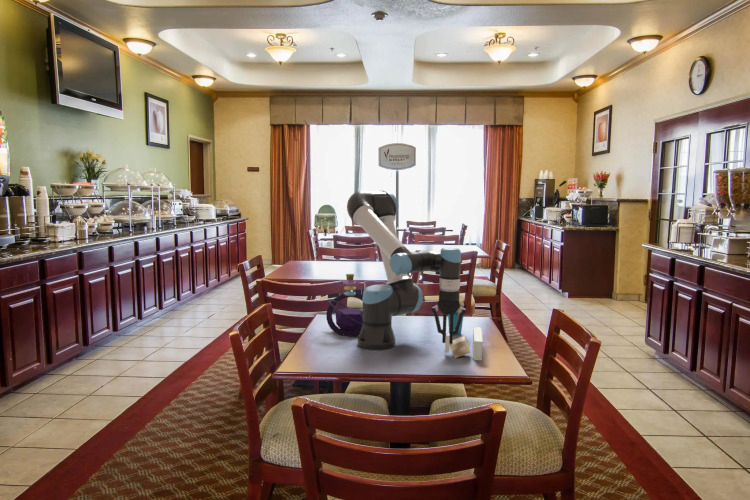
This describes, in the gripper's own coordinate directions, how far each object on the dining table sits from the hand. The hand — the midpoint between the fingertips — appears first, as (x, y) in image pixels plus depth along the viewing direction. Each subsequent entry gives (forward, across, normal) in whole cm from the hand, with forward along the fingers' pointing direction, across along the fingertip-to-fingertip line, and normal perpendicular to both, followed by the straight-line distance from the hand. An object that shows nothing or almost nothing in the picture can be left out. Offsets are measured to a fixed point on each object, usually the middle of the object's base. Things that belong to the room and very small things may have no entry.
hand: (447, 351), depth 191 cm
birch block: (0, +6, 0) cm, 6 cm away
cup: (+2, +2, +31) cm, 31 cm away
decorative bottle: (+2, -43, +24) cm, 50 cm away
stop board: (+2, +11, +7) cm, 13 cm away
